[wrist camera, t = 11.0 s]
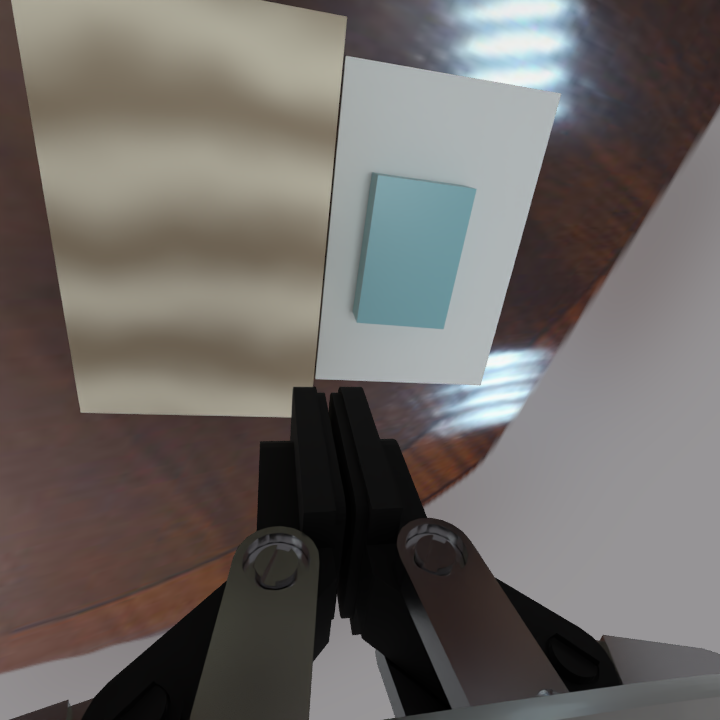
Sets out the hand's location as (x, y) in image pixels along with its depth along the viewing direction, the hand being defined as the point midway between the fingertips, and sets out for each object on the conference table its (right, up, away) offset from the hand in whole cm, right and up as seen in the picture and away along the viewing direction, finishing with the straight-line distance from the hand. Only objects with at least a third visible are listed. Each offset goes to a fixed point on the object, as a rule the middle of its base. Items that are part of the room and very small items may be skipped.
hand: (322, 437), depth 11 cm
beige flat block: (-9, +10, +17) cm, 21 cm away
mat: (+5, +9, +19) cm, 22 cm away
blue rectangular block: (+4, +8, +17) cm, 19 cm away
